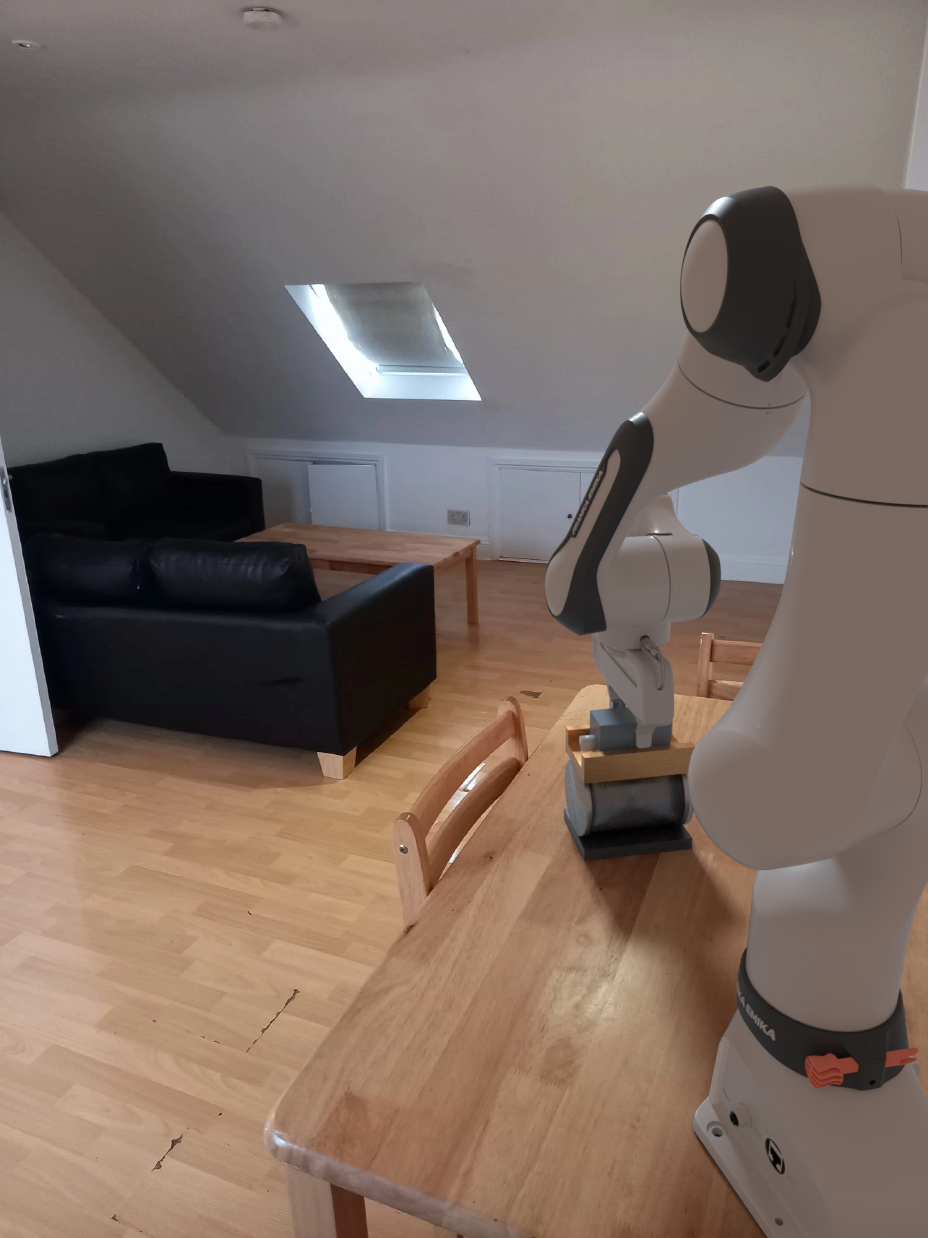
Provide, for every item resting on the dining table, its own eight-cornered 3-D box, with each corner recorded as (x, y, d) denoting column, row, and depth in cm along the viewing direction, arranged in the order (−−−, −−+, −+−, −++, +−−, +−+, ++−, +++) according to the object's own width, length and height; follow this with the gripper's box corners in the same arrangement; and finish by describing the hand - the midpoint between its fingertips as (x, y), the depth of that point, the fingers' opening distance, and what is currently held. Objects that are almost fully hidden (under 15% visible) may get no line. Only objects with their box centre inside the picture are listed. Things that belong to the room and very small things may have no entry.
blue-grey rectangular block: (669, 755, 106) (671, 719, 104) (586, 764, 105) (586, 727, 103) (656, 739, 110) (658, 704, 108) (576, 747, 109) (576, 711, 107)
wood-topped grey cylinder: (691, 848, 108) (698, 749, 103) (584, 860, 106) (585, 760, 101) (663, 807, 117) (667, 714, 112) (563, 817, 115) (564, 724, 111)
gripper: (691, 652, 93) (685, 765, 97) (630, 597, 112) (627, 694, 116) (636, 656, 92) (632, 770, 96) (584, 601, 111) (582, 698, 116)
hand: (629, 728), depth 106 cm, fingers open, 8 cm apart
